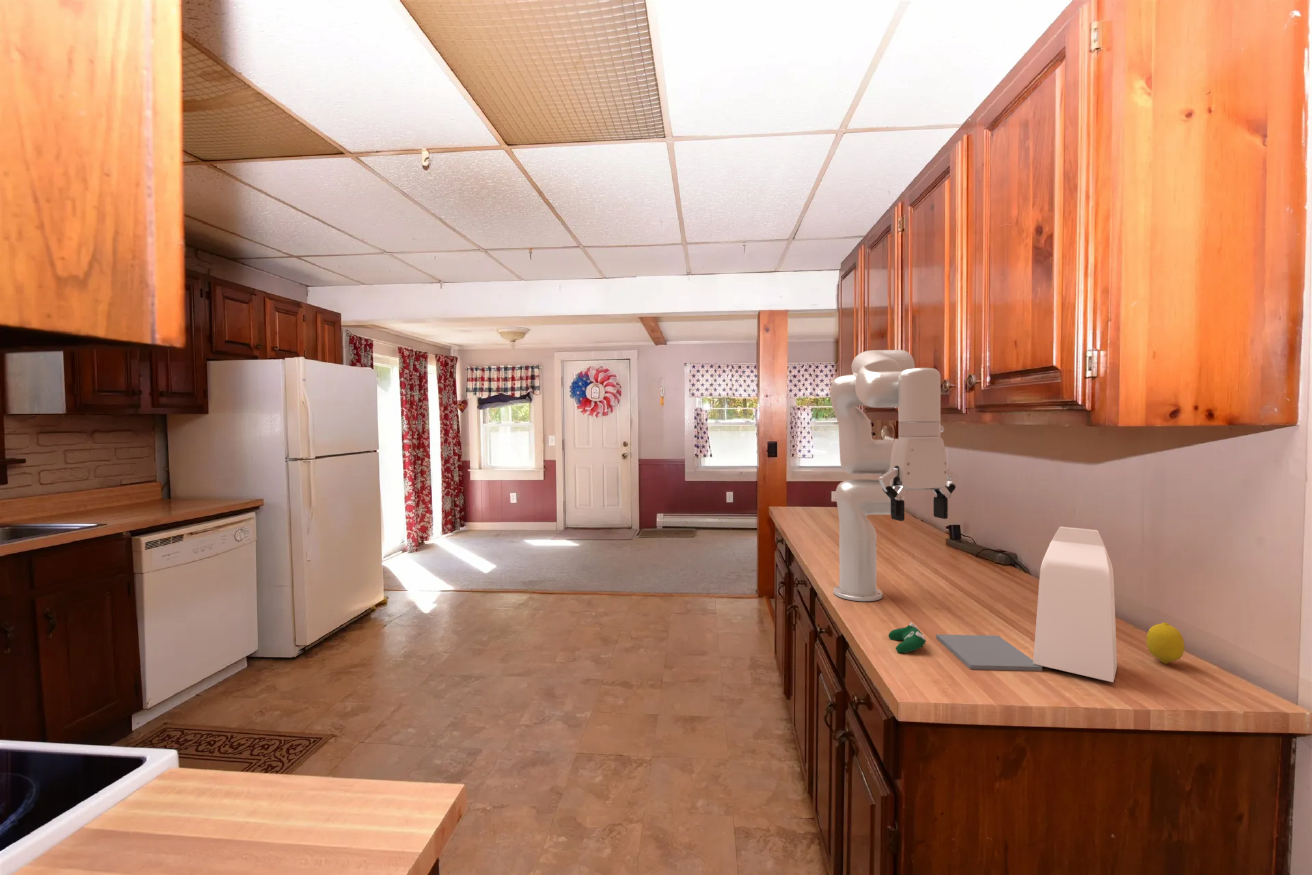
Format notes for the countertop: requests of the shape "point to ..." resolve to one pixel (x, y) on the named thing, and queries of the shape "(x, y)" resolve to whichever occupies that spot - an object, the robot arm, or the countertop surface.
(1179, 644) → the lemon
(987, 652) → the slate mat
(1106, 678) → the milk
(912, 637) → the gaming controller
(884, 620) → the countertop surface
